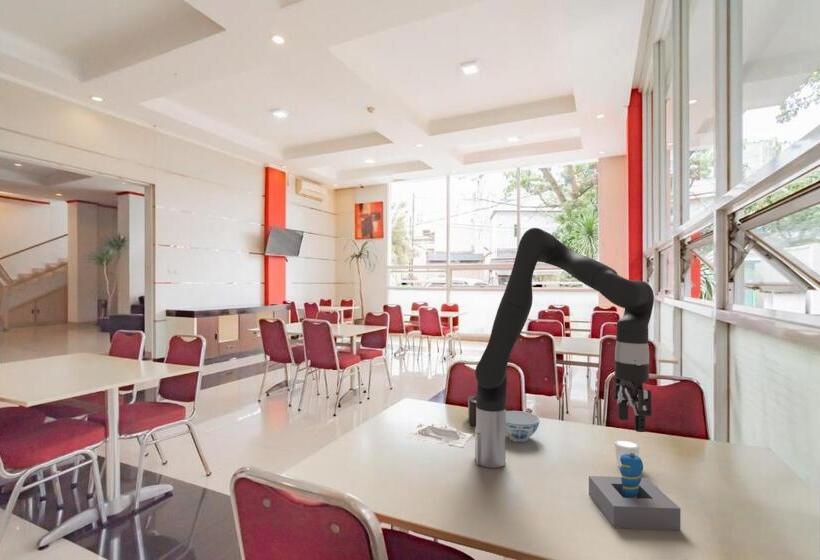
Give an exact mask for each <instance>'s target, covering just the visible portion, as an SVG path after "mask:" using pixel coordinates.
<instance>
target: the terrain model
mask: <svg viewBox="0 0 820 560" xmlns="http://www.w3.org/2000/svg"><path fill="white" fill-rule="evenodd" d="M472 436H474V434H473V433H468V432H462V431H460V430H459V429H458V427H457V428H455V427H453V426H450V425H447V424H436V423H435V424H434V423H432V424H431V425H427V424H425V423H419V424H417V426H416V427H415V429H413V430H411V432H409V433H408V434H407V435H406V438H409V439H413V440H418V441H422V442H429V443H431V442H432V443H436V444H440V445H443V444H448V446H451V447H456V448H461V449H462V448H464V446H465V445H466V443H468V441H470V439H471V438H472Z"/></svg>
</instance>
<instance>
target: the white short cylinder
mask: <svg viewBox="0 0 820 560" xmlns="http://www.w3.org/2000/svg"><path fill="white" fill-rule="evenodd" d="M614 449H615V460H616V466H617V467H618V468H620V467H621V465H622V464H621V461H620V457H621V456H622V455H624V454H630V452H634V453H635V455H636V456H638V457H640V456H639V454H640V445H639V444H638V443H636V442H635V441H630V440H628V439H627V440H625V439H617V440H615V441H614ZM631 450H632V451H631Z"/></svg>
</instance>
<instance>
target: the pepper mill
mask: <svg viewBox="0 0 820 560" xmlns="http://www.w3.org/2000/svg"><path fill="white" fill-rule="evenodd" d="M476 397H477V394H476V395H469V396H468V397H467V400H468V401H467V407H468V411H467V412H468V413H467V414H468V418H467V419H468V424H469V426H470V427H476Z"/></svg>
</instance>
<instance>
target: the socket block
mask: <svg viewBox="0 0 820 560" xmlns="http://www.w3.org/2000/svg"><path fill="white" fill-rule="evenodd" d="M621 477H622V476H609V475H608V476H606V475H605V476H604V475H588V496H589V495H590V496H591V497H590V496H589V497H590V499H591V500H592V499H593V500H592V501H593V502H594V504H595V503H596V504H595V505H596V506H597V507H598V509H599V510H600V512H601V513H602V515H603V516H604V517H605V518H606V519H607V521H608V523H609V524H610V525H611V527H612V528H613V529H632V530H633V529H636V530H637V529H638V530H658V531H659V530H661V531H663V530H664V531H681V507H680V506H678V505H677V503H675V502H674V501H673V500H672V499H670V498H669V497H668V496H667V495H666V494H665V493H664V492H663V491H662V490H661V489H660V488H658V487H657V486H656V485H655V483H653V482H652V481H651V480H649V479H648V477H641V482H640V484H639V491H638V494H637V498H624V495H623V484H622V481H621Z"/></svg>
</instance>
